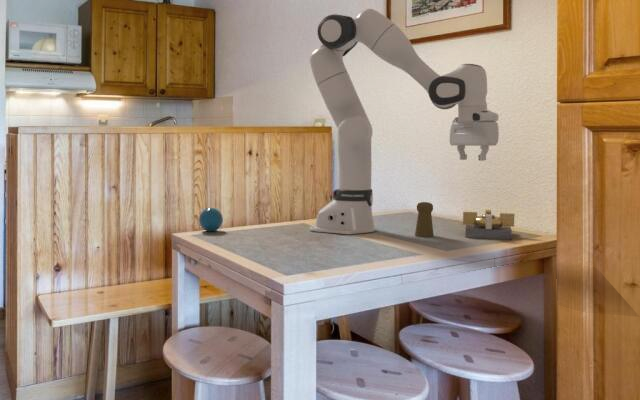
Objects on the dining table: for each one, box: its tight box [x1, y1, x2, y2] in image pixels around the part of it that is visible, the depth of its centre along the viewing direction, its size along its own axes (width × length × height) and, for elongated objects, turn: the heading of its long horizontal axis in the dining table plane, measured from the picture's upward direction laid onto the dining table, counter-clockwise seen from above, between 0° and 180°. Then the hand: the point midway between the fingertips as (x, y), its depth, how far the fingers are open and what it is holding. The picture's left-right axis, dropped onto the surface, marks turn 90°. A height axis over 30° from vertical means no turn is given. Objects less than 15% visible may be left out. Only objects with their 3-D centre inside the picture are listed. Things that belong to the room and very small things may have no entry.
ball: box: [198, 207, 224, 233], centre depth 194 cm, size 8×8×8 cm
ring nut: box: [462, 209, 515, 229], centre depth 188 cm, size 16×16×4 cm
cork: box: [414, 201, 434, 239], centre depth 187 cm, size 6×6×11 cm
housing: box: [464, 224, 513, 241], centre depth 189 cm, size 14×13×3 cm
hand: (472, 160), depth 183 cm, fingers open, 8 cm apart
